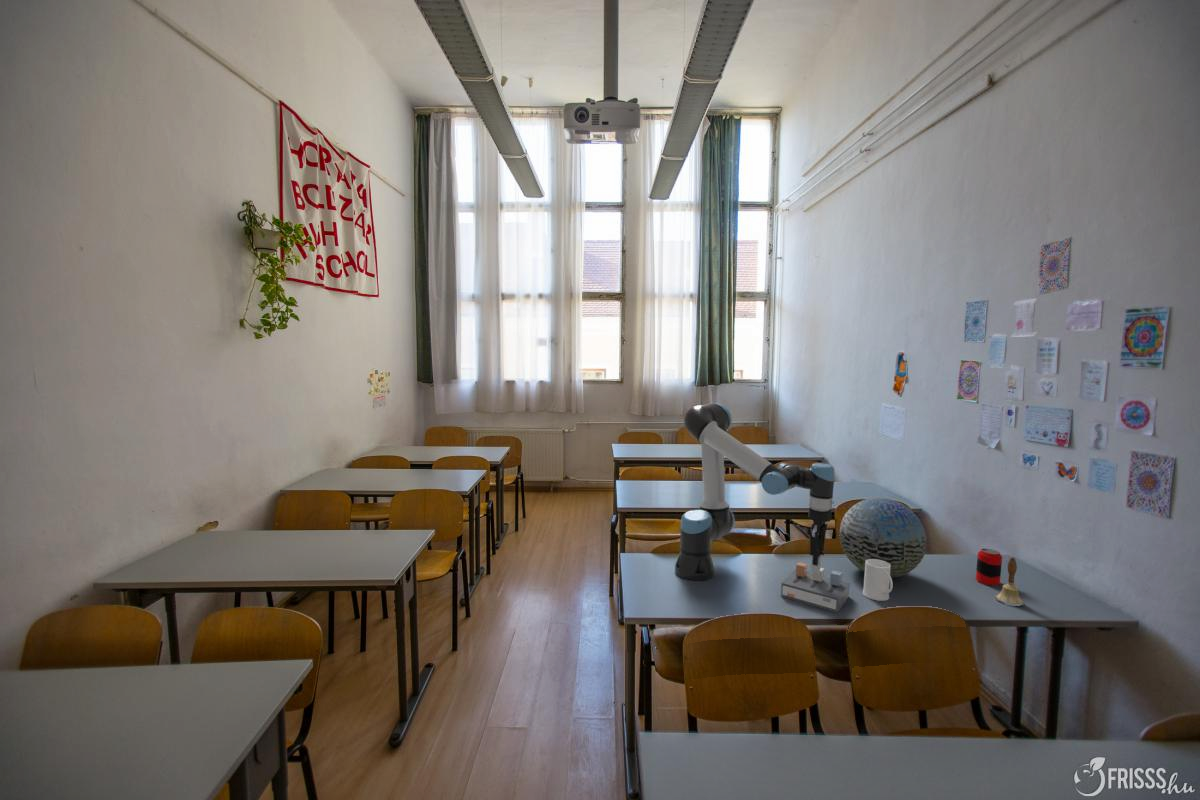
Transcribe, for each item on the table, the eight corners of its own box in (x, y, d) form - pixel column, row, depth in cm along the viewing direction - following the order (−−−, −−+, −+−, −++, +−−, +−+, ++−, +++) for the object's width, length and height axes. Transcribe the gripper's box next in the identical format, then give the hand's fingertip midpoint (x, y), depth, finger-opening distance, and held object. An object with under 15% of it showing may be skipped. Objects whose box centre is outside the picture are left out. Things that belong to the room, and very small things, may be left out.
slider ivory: (812, 579, 199) (813, 568, 199) (814, 577, 202) (815, 566, 201) (821, 582, 198) (821, 571, 197) (823, 579, 200) (824, 568, 200)
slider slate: (830, 584, 196) (830, 573, 195) (832, 581, 198) (833, 570, 198) (839, 586, 194) (839, 575, 194) (841, 583, 196) (842, 572, 196)
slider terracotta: (795, 575, 203) (796, 564, 203) (798, 572, 205) (798, 562, 205) (804, 577, 201) (804, 566, 201) (806, 574, 204) (807, 564, 203)
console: (780, 596, 197) (781, 583, 197) (794, 582, 210) (795, 569, 209) (836, 613, 186) (837, 598, 185) (848, 596, 198) (849, 582, 198)
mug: (900, 605, 193) (902, 571, 191) (876, 605, 192) (879, 572, 190) (879, 589, 204) (882, 558, 203) (857, 590, 203) (859, 558, 202)
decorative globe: (938, 579, 214) (944, 503, 211) (897, 598, 197) (903, 516, 194) (864, 554, 238) (868, 485, 235) (821, 569, 222) (825, 495, 218)
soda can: (981, 576, 218) (983, 546, 216) (1003, 583, 211) (1006, 552, 210) (971, 580, 213) (974, 550, 212) (994, 587, 207) (997, 556, 206)
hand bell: (1016, 609, 191) (1020, 564, 189) (989, 599, 198) (993, 555, 196) (1029, 604, 195) (1033, 559, 193) (1002, 594, 202) (1006, 551, 200)
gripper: (826, 514, 188) (820, 582, 190) (836, 506, 198) (831, 569, 201) (803, 510, 192) (798, 575, 195) (814, 501, 202) (810, 564, 205)
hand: (815, 572), depth 198 cm, fingers closed
